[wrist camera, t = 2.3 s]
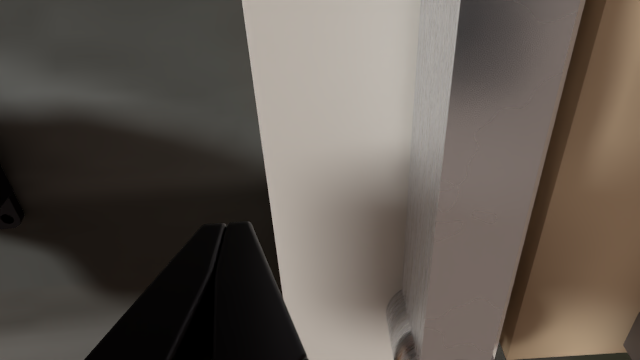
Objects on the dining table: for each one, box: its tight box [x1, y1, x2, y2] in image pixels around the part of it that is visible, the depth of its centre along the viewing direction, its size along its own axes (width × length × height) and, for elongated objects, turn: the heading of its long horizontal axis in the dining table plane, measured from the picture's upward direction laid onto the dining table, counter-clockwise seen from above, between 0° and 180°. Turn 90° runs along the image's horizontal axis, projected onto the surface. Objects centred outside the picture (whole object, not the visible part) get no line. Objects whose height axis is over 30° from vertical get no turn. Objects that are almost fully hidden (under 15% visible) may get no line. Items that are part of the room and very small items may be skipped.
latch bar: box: [386, 0, 580, 360], centre depth 13 cm, size 14×3×3 cm, turn 3°
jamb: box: [242, 0, 586, 360], centre depth 16 cm, size 8×22×5 cm, turn 3°
